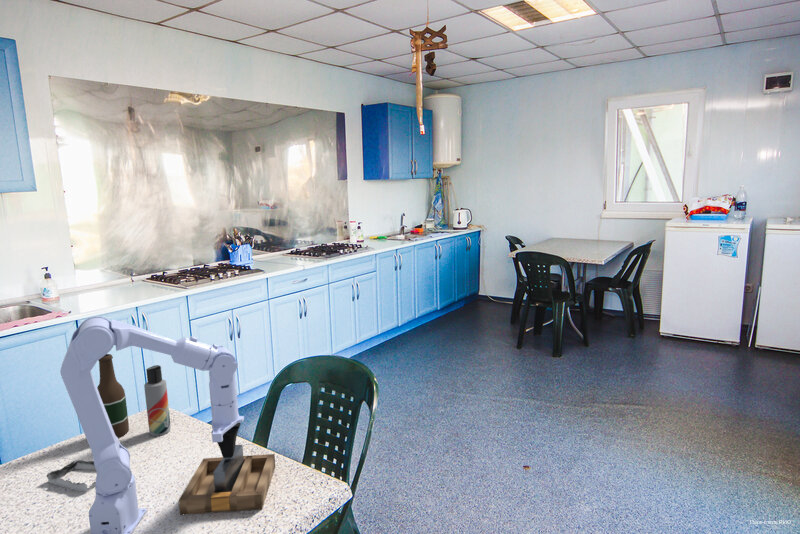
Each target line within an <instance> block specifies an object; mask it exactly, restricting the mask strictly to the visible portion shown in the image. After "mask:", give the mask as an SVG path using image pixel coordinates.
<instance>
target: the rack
mask: <svg viewBox="0 0 800 534" xmlns="http://www.w3.org/2000/svg"><path fill="white" fill-rule="evenodd" d="M243 458H244V464H243V466H242V468H241V470H240V473H239V475H238V477H237V480H236V482H235V484H234V487H233V489H232V491H231V492H220V493H215V486H214V474H213V472H214V471H215V469H216V468H217V466H218V465H219V463H220V462H221V460H222V459H223V456H222V457H207V458H205V457H204V458H202V460H201V461H200V464H198V467H197V469H196V470H195V472H194V474H193V476H192V477H191V479H190V481H189V482H188V484H187V486H186V487H185V489H184V491H183V493H182V494H181V495H180V498H179V499H178V505H179V508H178V509H179V515H180V516H183V514H184V516H185V515H186V514H188V515H199V514H201V515H202V514H212V513H225V512H226V513H228V512H229V513H231V512H241V511H243V512H244V511H253V510H255V511H256V510H263V508H264V504H265V501H266V498H267V495H268V491H269V489H270V486H271V482H272V479H273V476H274V472H275V470H276V459H275V458H276V456H275V453H271V454H270V453H268V454H256V455H255V454H252V455H251V454H250V455H243Z"/></svg>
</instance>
